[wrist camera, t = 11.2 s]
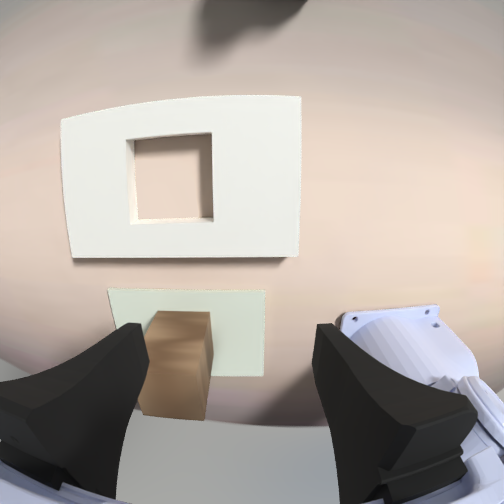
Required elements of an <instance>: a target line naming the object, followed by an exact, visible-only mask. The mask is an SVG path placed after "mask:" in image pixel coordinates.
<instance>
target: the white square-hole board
mask: <svg viewBox="0 0 504 504" xmlns="http://www.w3.org/2000/svg"><path fill="white" fill-rule="evenodd" d="M201 134H212V176H213V213H214V217H211V218H170V219H141V220H138V209H137V196H136V179H135V154H134V140H141V139H150V138H160V137H171V136H185V135H201ZM61 166H62V182H63V194H64V204H65V213H66V221H67V228H68V235H69V241H70V247H71V253H72V258H177V257H298V251H299V228H300V198H301V97H300V96H280V95H224V96H204V97H190V98H179V99H169V100H160V101H152V102H145V103H138V104H132V105H126V106H120V107H114V108H109V109H104V110H99V111H94V112H90V113H85V114H81V115H77V116H73V117H69V118H65V119H62V120H61Z"/></svg>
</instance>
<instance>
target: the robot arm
mask: <svg viewBox="0 0 504 504" xmlns="http://www.w3.org/2000/svg"><path fill="white" fill-rule="evenodd" d="M426 310H427V311H426ZM425 311H426V312H425ZM439 311H440V308H439V306H438V305H437V304H434V305H425V306H416V307H406V308H395V309H384V310H371V311H357V312H347V313H345V314H344V315H343V316H342V320H341V326H340V330H339V329H338V328H337V327H335V326H334V325H333V324H332V323H329V324H317V329H316V337H315V344H314V351H313V358H312V367H313V373H314V378H315V383H316V387H317V390H318V393H319V396H320V399H321V402H322V405H323V408H324V412H325V415H326V418H327V421H328V424H329V428H330V432H331V437H332V443H333V448H334V454H335V461H336V468H337V477H338V486H339V497H340V504H504V403H503V402H502V401H501V400H500V398H499V397H498V396H497V395H496V394H495V393H494V392H493V391H492V390H491V388H490V387H489V386H488V385H487V384H486V383H484V382H483V381H482V380H481V379H480V378H479V372H478V367H477V363H476V360H475V357H474V355H473V354H472V352H471V351H470V349H469V348H468V347H467V346H466V345H465V344H464V343H463V342H462V341H461V340H460V339H459V338H458V337H457V336H456V334H455V333H454V332H453V331H452V330H451V329H450V328H449V327H448V326H447V325H446V324H445V323H444V322H443V321H442V320H441V319H440V318H439V317H438V314H439ZM353 317H356V319H354V320H352V318H353ZM149 362H150V360H149V356H148V352H147V348H146V344H145V339H144V335H143V330H142V325H141V323H130V322H128V323H126V324H124V325H123V326H121V327H120V328H118V329H117V330H115V331H114V332H112V333H111V334H109V335H108V336H107V337H105V338H104V339H102V340H101V341H99V342H98V343H96V344H95V345H93V346H92V347H90V348H89V349H87V350H85V351H84V352H82V353H81V354H79V355H77V356H76V357H74V358H72V359H70V360H68V361H66V362H64V363H62V364H60V365H58V366H56V367H53V368H51V369H48V370H46V371H43V372H40V373H38V374H35V375H31V376H28V377H24V378H20V379H16V380H10V381H4V382H0V439H1V442H0V504H130V503H126V502H122V501H118V500H116V485H117V476H118V468H119V461H120V456H121V451H122V446H123V441H124V437H125V433H126V429H127V425H128V422H129V419H130V417H131V414H132V412H133V409H134V407H135V404H136V402H137V399H138V397H139V395H140V392H141V390H142V387H143V385H144V382H145V379H146V375H147V371H148V367H149Z"/></svg>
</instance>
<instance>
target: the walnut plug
mask: <svg viewBox="0 0 504 504" xmlns="http://www.w3.org/2000/svg"><path fill="white" fill-rule="evenodd" d="M144 339H145V344H146V348H147V352H148V356H149V360H150V362H149V367H148V371H147V375H146V379H145V382H144V385H143V387H142V390H141V392H140V395H139V397H138V399H137V400H138V402H139V405H140V408H141V410H142V413H143V415H148V416H155V417H163V418H173V419H185V420H199V421H204V419H205V412H206V405H207V398H208V391H209V384H210V377H211V370H212V364H213V357H214V350H213V340H212V329H211V318H210V312H198V311H157V313H156V315H155V317H154V319H153V321H152V323H151V324H150V326H149V328H148V330H147V332H146V334H145V336H144Z"/></svg>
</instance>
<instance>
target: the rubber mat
mask: <svg viewBox="0 0 504 504" xmlns="http://www.w3.org/2000/svg"><path fill="white" fill-rule="evenodd" d="M108 295H109V299H110V304H111V308H112V313H113V317H114V321H115V325H116V329H118V328H120V327H121V326H123V325H124V324H126V323H128V322H130V323H141V325H142V330H143V335H144V336H145V334H146V332H147V330H148V328H149V326H150V324H151V323H152V321H153V319H154V317H155V315H156V313H157V311H198V312H210V318H211V329H212V340H213V350H214V357H213V364H212V370H211V376H263V370H264V329H265V290H179V289H135V288H109V289H108Z"/></svg>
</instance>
